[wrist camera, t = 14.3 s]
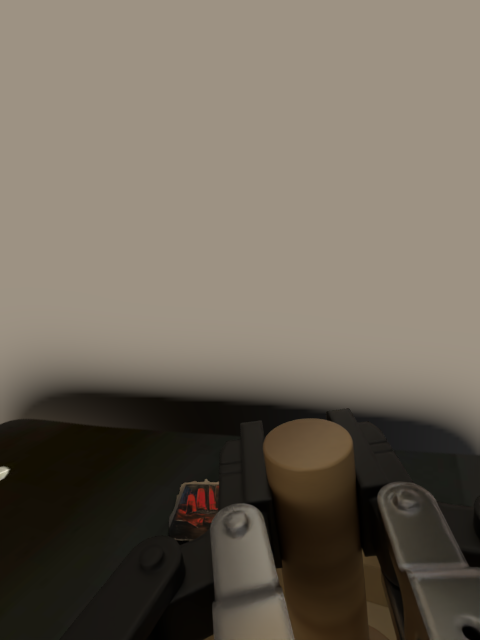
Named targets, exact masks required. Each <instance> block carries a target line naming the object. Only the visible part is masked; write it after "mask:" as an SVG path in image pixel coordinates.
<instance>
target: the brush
mask: <svg viewBox="0 0 480 640" xmlns="http://www.w3.org/2000/svg"><path fill="white" fill-rule="evenodd" d="M263 454H264V460H265V467H266V473H267V479H268V483H269V486H270V487H271V492H272V499H273V506H274V512H275V519H276V526H277V532H278V539H279V546H280V552H281V559H282V566H283V568H281V570H282V577H283V583H284V589H285V596H286V602H287V609H288V614H289V618H290V622H291V627H292V631H293V635H294V639H295V640H389V639H388V638H387V637H386V636H385V635H384V634H382V633H381V632H380V631H378V630H377V629H375V628H374V627H372V626H370V625H368V614H367V602H366V590H365V578H364V566H363V555H362V544H361V532H360V520H359V508H358V496H357V484H356V472H355V460H354V448H353V440H352V438H351V436H350V434H349V433H348V431H347V430H346V429H344V428H343V427H342V426H340V425H338V424H336V423H334V422H331V421H327V420H322V419H299V420H294V421H290V422H287V423H284V424H282V425H280V426H278V427H276V428H275V429H273V430H272V431H271V432H270V433H269V434H268V435H267V436H266V438H265V440H264V443H263Z"/></svg>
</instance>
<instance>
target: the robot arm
mask: <svg viewBox="0 0 480 640" xmlns="http://www.w3.org/2000/svg"><path fill="white" fill-rule="evenodd" d="M326 419H327V421H331V422H334V423H336V424H338V425H340V426H342V427H343V428H344V429H346V430H347V431H348V433H349V434H350V436H351V438H352V440H353V448H354V460H355V472H356V484H357V496H358V508H359V520H360V532H361V544H362V550H363V552H364V555H365V557H370V556H377V559H378V561H379V564H380V568H381V582H382V586H383V589H384V593H385V597H386V601H387V604H388V608H389V612H390V615H391V619H392V623H393V627H394V630H395V634H396V638H397V640H480V496H479V497H478V498H477V499H476V500H475V503H474V507H469V506H460V505H452V504H446V503H442V502H439V501H436V500H435V499H434V497H433V496H432V495H431V493H430V492H428V491H427V490H426V489H424V488H423V487H421V486H419V485H416V484H414V483H413V481H412V480H411V478H410V476H409V475H408V473H407V472H406V470H405V468H404V467H403V465H402V463H401V462H400V460H399V459H398V457H397V455H396V454H395V452H394V451H393V449H392V447H391V446H390V444H389V443H388V442H387V439H386V438H385V436H384V434H383V433H382V431H381V430H380V429H379V428H377V427H376V426H375V425H373V424H372V423H370V422H369V421H367V422H360V423H357V421H356V420H355V418H354V416H353V414H352V412H351V410H350V409H349V408H347V409H340V410H333V411H327V412H326ZM240 427H241V439H238V440H231V441H226V443H225V444H224V446H223V448H222V449H221V451H220V466H219V492H218V513H217V514H216V515H215V517H214V518H213V520H212V522H211V526H210V529H209V530H208V531H206V532H205V533H204V534H203V535H201V536H200V537H198V538H196V539H194V540H191V541H189V542H187V543H184V544H182V545H179V543H178V542H177V541H176V540H175V539H173V538H171V537H169V536H154V537H151V538H148V539H146V540H144V541H142V542H141V543H139V544H138V545H137V546H135V547H134V548H133V549H132V550H131V552H130V553H129V554H128V555H127V556H126V558H125V559H124V560H123V561H122V563H121V564H120V565H119V566H118V568H117V569H116V570H115V571H114V573H113V574H112V575H111V576H110V578H109V579H108V580H107V581H106V583H105V584H104V585H103V586H102V587H101V589H100V590H99V591H98V592H97V594H96V595H95V596H94V597H93V599H92V600H91V601H90V602H89V604H88V605H87V606H86V607H85V609H84V610H83V611H82V612H81V614H80V615H79V616H78V617H77V618H76V620H75V621H74V622H73V623H72V625H71V626H70V627H69V628H68V630H67V631H66V632H65V633H64V635H63V636H62V637H61V638H60V640H204V639H206V638H208V637H210V636H211V635H213V634H214V640H295V639H294V635H293V631H292V627H291V622H290V618H289V614H288V610H287V606H286V602H285V598H284V594H283V590H282V587H281V586H280V584H279V580H278V576H277V572H276V569H278V568H283V566H282V559H281V552H280V546H279V539H278V532H277V526H276V519H275V512H274V506H273V499H272V492H271V487H270V486H269V483H268V479H267V473H266V467H265V460H264V454H263V443H264V433H263V426H262V421H255V422H248V423H241V424H240Z"/></svg>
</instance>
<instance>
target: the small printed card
mask: <svg viewBox="0 0 480 640" xmlns="http://www.w3.org/2000/svg"><path fill="white" fill-rule="evenodd" d="M181 486H182V487H180V492H179V495H177V501H176V503H175V508H174V510H173V512H172V514H171V515H170V519H169V537H171V538H173V539H175V540H181V541H183V540H190V541H191V540H194V539H196V538H198V537H200V536H201V535H203V534H204V533H205V532H206V531H208V530H209V529H210V526H211V522H212V520H213V518H214V517H215V515H216V514H217V513H218V492H219V481H218V482H217V483H214V482H211V483H210V481H208V480H207V479H205V482H196V481H193V482H189V483H184V484H183V485H181Z"/></svg>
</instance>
